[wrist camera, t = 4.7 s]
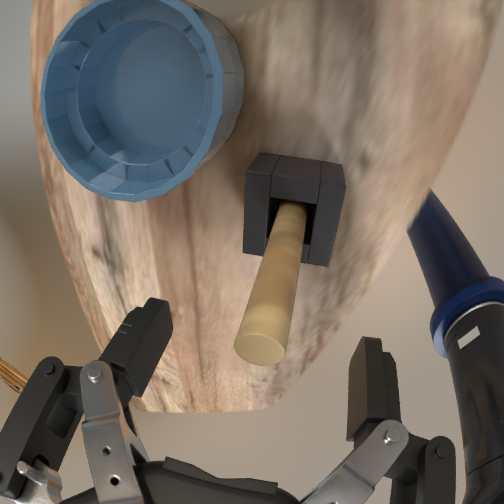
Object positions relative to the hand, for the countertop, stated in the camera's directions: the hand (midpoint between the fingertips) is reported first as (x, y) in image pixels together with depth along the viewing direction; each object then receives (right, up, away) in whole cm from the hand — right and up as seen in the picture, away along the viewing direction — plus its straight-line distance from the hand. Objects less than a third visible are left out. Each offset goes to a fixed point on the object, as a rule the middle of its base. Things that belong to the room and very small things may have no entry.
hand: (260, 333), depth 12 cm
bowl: (-8, +16, +9) cm, 20 cm away
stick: (+3, +8, +11) cm, 14 cm away
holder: (+3, +8, +11) cm, 14 cm away
